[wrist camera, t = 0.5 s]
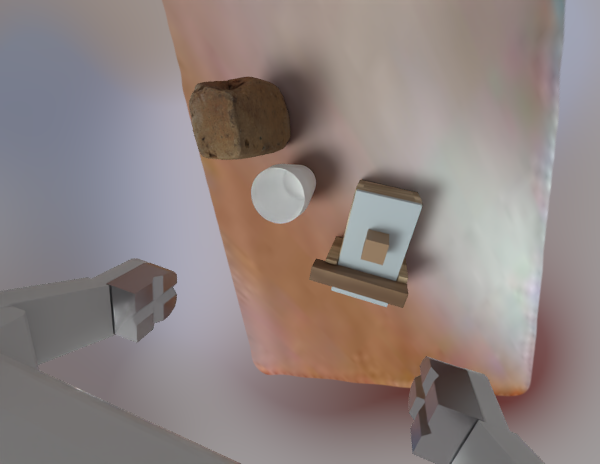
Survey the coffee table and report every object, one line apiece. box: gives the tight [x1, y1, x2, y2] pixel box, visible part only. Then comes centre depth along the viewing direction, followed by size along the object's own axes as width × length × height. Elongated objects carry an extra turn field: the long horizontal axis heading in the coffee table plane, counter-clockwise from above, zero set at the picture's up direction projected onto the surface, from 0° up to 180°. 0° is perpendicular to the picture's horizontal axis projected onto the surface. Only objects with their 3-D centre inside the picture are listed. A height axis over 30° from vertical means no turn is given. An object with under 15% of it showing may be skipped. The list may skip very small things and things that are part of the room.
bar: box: [309, 259, 408, 308], centre depth 46 cm, size 2×15×3 cm, turn 80°
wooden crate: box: [326, 180, 423, 284], centre depth 49 cm, size 18×13×10 cm
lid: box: [331, 189, 422, 307], centre depth 44 cm, size 18×10×6 cm, turn 170°
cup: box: [251, 164, 316, 223], centre depth 49 cm, size 9×9×12 cm
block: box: [189, 77, 290, 160], centre depth 43 cm, size 11×8×20 cm
